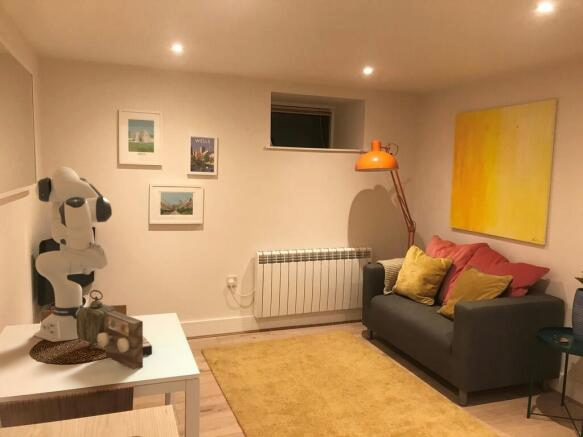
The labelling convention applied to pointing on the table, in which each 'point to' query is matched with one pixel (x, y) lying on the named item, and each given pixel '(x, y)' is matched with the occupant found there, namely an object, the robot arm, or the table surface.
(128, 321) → the button panel
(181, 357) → the table surface
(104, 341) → the button
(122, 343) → the button
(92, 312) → the tabletop clock
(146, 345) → the calculator
